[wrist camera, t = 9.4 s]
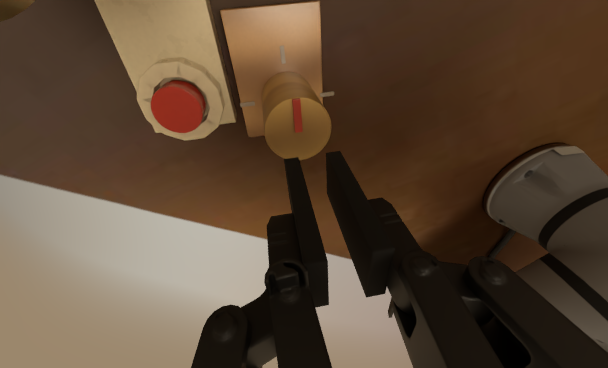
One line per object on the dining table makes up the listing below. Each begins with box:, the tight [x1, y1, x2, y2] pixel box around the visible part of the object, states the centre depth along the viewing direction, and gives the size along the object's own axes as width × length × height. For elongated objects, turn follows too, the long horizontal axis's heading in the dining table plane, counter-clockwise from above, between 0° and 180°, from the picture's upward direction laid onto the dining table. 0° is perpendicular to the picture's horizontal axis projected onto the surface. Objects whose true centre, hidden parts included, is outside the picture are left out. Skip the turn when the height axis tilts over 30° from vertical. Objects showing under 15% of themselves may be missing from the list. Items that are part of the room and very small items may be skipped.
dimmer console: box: [220, 0, 334, 137], centre depth 25 cm, size 12×9×3 cm
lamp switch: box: [151, 80, 206, 133], centre depth 22 cm, size 4×4×2 cm
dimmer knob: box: [262, 72, 331, 160], centre depth 21 cm, size 5×5×8 cm
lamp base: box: [94, 0, 237, 141], centre depth 21 cm, size 16×8×4 cm, turn 4°
